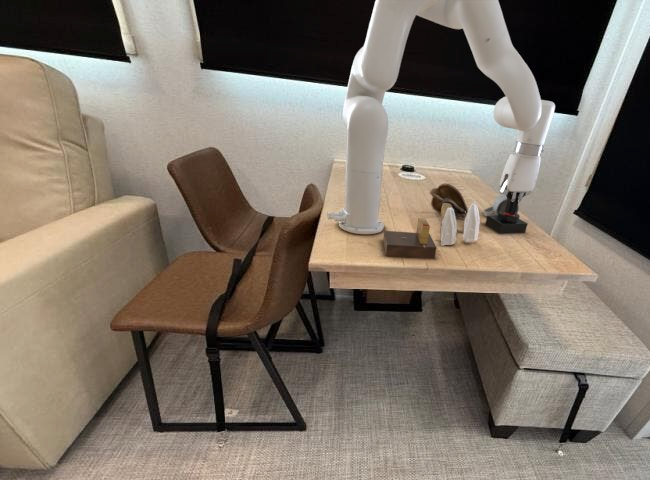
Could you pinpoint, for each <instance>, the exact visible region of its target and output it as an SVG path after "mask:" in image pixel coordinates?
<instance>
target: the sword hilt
mask: <svg viewBox="0 0 650 480" xmlns="http://www.w3.org/2000/svg"><path fill="white" fill-rule="evenodd" d="M429 194H430V195H431V199H430V200H431V201H430V206H431V207H432V209H433V210H434V211H435V212H436V213H437V214H439V215H441V220H442V222H443V219H444V216H445V213H446V211H447V209H448V208H451V207H452V208H453V210H454V213H455V217H456V218H461V219H465V218H466V215H467V213H468V210H469V207H468V206H467V204H466V201H465V198H464V197H463V194H462V193H461V192H460V191H459V189H458V188H457V187H455V186H454V185H452V184H451V183H445V182H444V183H441V184H439V185H438V186H437V187H433V188H432V189H431V190H430V191H429ZM442 222H441V223H440V229H441V228H442ZM456 233H464V229H459V228H457V231H456Z"/></svg>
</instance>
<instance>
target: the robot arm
mask: <svg viewBox="0 0 650 480" xmlns="http://www.w3.org/2000/svg"><path fill="white" fill-rule="evenodd" d="M417 16H418V17H419V18H422V19H426V20H428V21H431V22H433V23H435V24H439V25H440V26H444V27H447V28H451V29H454V30H461V29H462V30H463V32H464V35H465V37H466V40H467V43H468V45H469V47H470V50H471V52H472V55H473V59H474V61H475V64H476V67H477V68H478V69H479V70H480V71H481V72H482V73H483V74H484V75H485V76H486V77H487V78H489V79H490V80H492V81H493V82H494V83H495V84H496V85H497V86H498V87H499V88H500V89H501V91H502V92H503V94H504V96H503V97H502V98H500V99H498V101H497V102H496V103H495V105H494V107H493V112H492V113H493V119H494V121H495V122H496V124H498V125H499V126H500V127H503V128H507V129H513V130H516V131H518V133H517V136H516V137H517V138H516V141H515V145H514V149H513V153H510V154H509V156H508V158H507V161H506V163H505V165H504V167H503V171H502V173H501V177H500V181H499V185H498V186H499V188H501V189H500V192H499V193H500V194H501V195H506V197H507V199H508V201H507V205H506V208H505V212H506V213H508V214H510V215H512V214H513V215H515V213H516V209H517V206H518V205H519V203H520V202H521V201H522V200H523V198H524V197H525V196H529V195H531V194H532V191H533V190H534V189H535V186H536V183H537V180H538V176H539V173H540V167H541V161H542V157H541V155H542V153H543V152H544V151H545V147H544V145H545V142H546V140H547V136H548V132H549V130H550V126H551V123H552V120H553V116H554V113H555V110H556V104H555V102H553V101H550V100H545V99H542V98H541V95H540V92H539V91H540V90H539V87H538V84H537V81H536V78H535V76H534V74H533V72H532V70H531V69H530V67H529V66H528V64H527V63H526V62H525V60H524V59H523V57H522V56H521V55H520V54H519V52H518V50H517V49H516V48H515V47H514V45H513V43H512V40H511V36H510V33H509V30H508V27H507V24H506V21H505V18H504V14H503V11H502V8H501V5H500V2H499V0H375V1H374V5H373V9H372V13H371V17H370V20H369V23H368V28H367V32H366V37H365V41H364V43H363V46H362V47H360V49H359V50H358V51H357V52H356V54H355V56H354V57H353V58H354V59H353V61H352V65H351V69H350V73H349V74H350V75H349V79H348V83H347V88H346V93H345V98H344V102H343V108H342V119H343V123H344V126H345V128H346V129H347V132H346V136H347V137H346V146H345V148H346V149H345V187H344V207H342V208H341V210H339V211H337V212H335V211H327V214H326V215H327V220H333V222H338V226H339V228H340V229H342V230H343V231H345V232H347V233H350V234H356V235H375V234H379V233H381V232H382V231H384V227H385V224H384V223H383V221H381V219H380V210H381V209H380V208H381V197H382V196H381V195H382V183H383V172H384V171H383V170H384V157H385V149H386V144H387V138H388V134H389V133H388V131H389V118H388V113H387V110H386V108H385V106H384V105H383V101H384V97H385V94H386V91H387V92H388V90H391V88H392V87H394V86H395V83H396V82H397V79H398V77H399V73H400V68H401V63H402V59H403V56H404V52H405V48H406V44H407V40H408V37H409V34H410V31H411V28H412V25H413V24H414V23H413V22H414V20H415V18H416V17H417Z"/></svg>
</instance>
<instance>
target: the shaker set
mask: <svg viewBox="0 0 650 480" xmlns="http://www.w3.org/2000/svg"><path fill="white" fill-rule="evenodd" d="M480 219H481V218H480V212H479V208H478V204H477V203H476V202H473V203H471V204H470V207H468V213H467V215H466V218H464V223H463V230H464V232H462V233H463V235H462V239H463V242H465V243H466V244H467V245H470V244H473V243H475V242H476V241H477V240H478V239H479V232H480V224H481V223H480V222H481V220H480ZM442 220H443V221H442V222H441V223H442V228H441V227H440V240H441V241H440V246H442V247H444V246H446V245H447V246H451V245H455V244H456V241H457V229H458V224H457V217H455V213H454V210H453V208H452V207H451V208H448V209H447V211H446V213H445V216H444V219H442Z"/></svg>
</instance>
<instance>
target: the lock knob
mask: <svg viewBox="0 0 650 480" xmlns="http://www.w3.org/2000/svg"><path fill="white" fill-rule="evenodd" d="M430 228H431V226H430V224H429V222H428V221H427V219H426V217H417V225H416V231H415V233H416V236H417V238H418V241H419V243H420V244H427V241H428V235H429V234H430Z"/></svg>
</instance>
